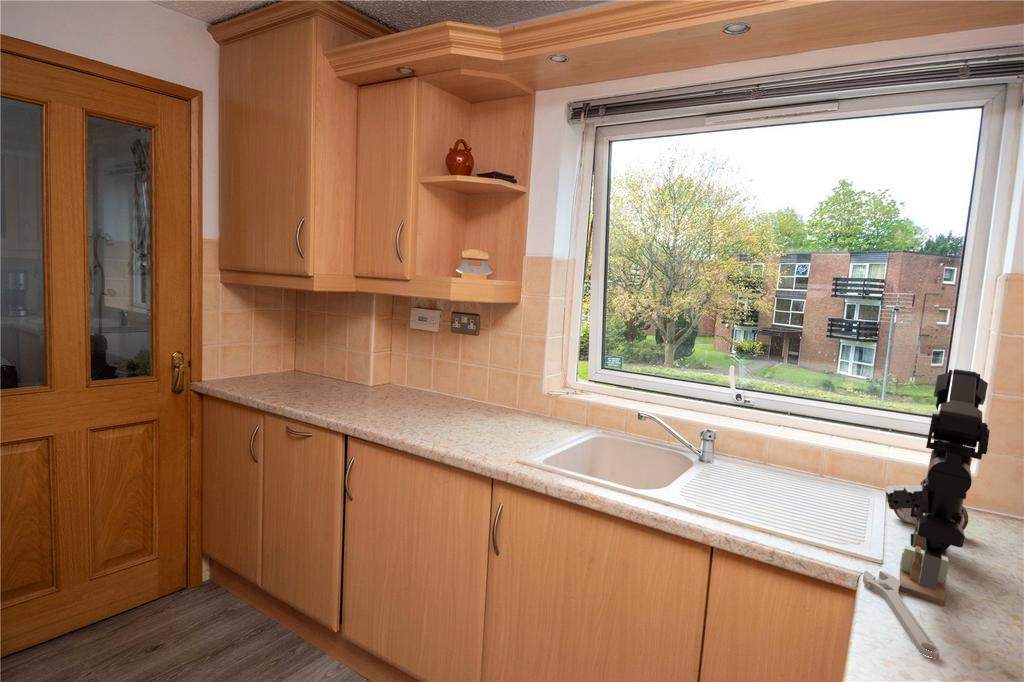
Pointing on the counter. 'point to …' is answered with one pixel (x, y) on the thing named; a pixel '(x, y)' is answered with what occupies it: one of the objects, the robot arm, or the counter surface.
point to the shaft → (930, 569)
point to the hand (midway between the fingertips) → (930, 561)
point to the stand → (911, 580)
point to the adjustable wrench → (901, 611)
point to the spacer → (909, 553)
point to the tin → (905, 516)
